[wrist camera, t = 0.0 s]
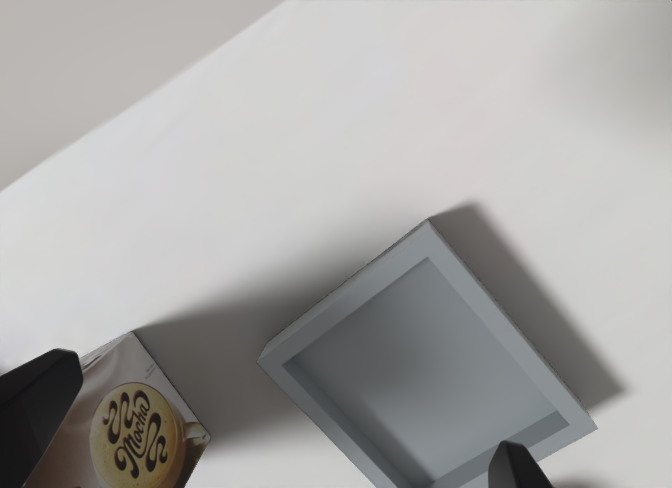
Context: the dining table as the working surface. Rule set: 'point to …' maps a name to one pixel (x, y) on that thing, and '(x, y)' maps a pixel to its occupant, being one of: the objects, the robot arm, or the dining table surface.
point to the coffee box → (123, 427)
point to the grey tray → (422, 372)
